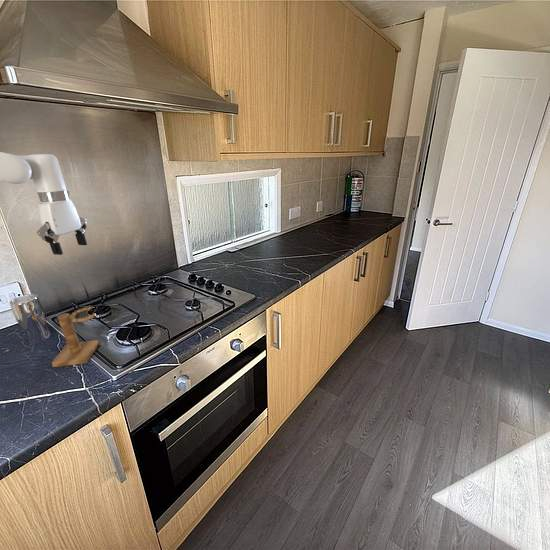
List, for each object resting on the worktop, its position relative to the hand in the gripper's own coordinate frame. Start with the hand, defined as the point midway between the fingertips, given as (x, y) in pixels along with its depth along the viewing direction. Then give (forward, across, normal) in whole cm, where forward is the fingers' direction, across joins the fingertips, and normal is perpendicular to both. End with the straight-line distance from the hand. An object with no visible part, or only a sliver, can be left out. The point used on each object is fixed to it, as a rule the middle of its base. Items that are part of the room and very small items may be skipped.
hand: (71, 249), depth 98 cm
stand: (+25, +21, +14) cm, 35 cm away
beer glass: (+25, +17, -4) cm, 31 cm away
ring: (+24, +2, -1) cm, 24 cm away
